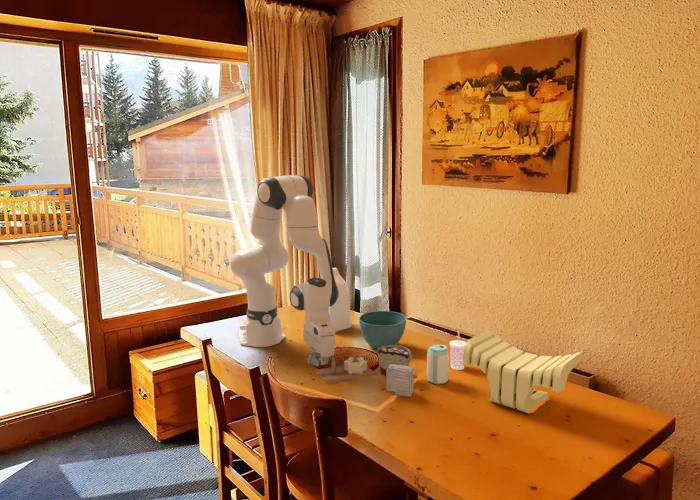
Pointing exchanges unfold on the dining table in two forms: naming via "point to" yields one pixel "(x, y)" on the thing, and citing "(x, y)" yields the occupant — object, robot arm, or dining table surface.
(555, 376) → the slatted curved stool
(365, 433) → the dining table surface
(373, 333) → the teal bowl
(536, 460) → the dining table surface
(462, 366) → the beverage cup
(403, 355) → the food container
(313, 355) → the blue gear
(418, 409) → the dining table surface
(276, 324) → the robot arm
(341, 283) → the milk
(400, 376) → the medicine box
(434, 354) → the can
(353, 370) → the cream gear
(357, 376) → the gear board
